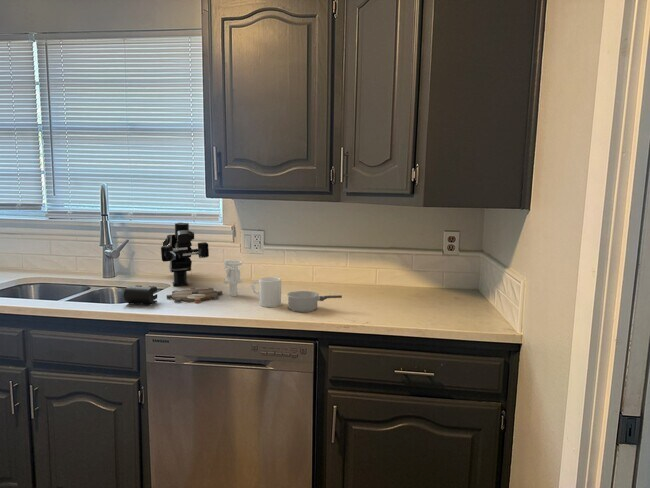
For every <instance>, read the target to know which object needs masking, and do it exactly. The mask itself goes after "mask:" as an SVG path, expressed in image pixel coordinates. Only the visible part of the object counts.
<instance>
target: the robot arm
mask: <svg viewBox="0 0 650 488" xmlns="http://www.w3.org/2000/svg"><path fill="white" fill-rule="evenodd" d="M164 240H165V241H164ZM164 240H163V241H164V242H163V241H162V243H163V246H162V245H161V247H160V254H161V261H162V262H169V266H168V267H169V272H170V273H173V282H172V286H173V287H178V286H180V287H181V286H189V282H188V275H187V274H188V273H187V272H191V271H192V263H193V261H192V260H191V259H192V256H196V255H197V256H198V259H205V258H209V256H210V254H209V253H210V252H209V250H210V249H209V243H207V241H203V242H202V241H201V242H197V248H192V246H193V244H192V241H193V240H195V232H194V231H192V230H190V226H189V222H175V223H174V234H168V235H167V234H166V238H165V239H164ZM168 244H170V245H168ZM167 245H168V246H167Z"/></svg>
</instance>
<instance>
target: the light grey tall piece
mask: <svg viewBox="0 0 650 488" xmlns="http://www.w3.org/2000/svg"><path fill="white" fill-rule="evenodd" d="M242 264H243V262H242V261H241V260H233V259H224V261H223V266H224V268H223V269H225V272H226V273H225V274H226V275H225V276H226V278H225V279H224V284H228V285H229V297H236V296H238V284H241V283H243V279H242V278H241V268H240V266H242Z"/></svg>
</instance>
